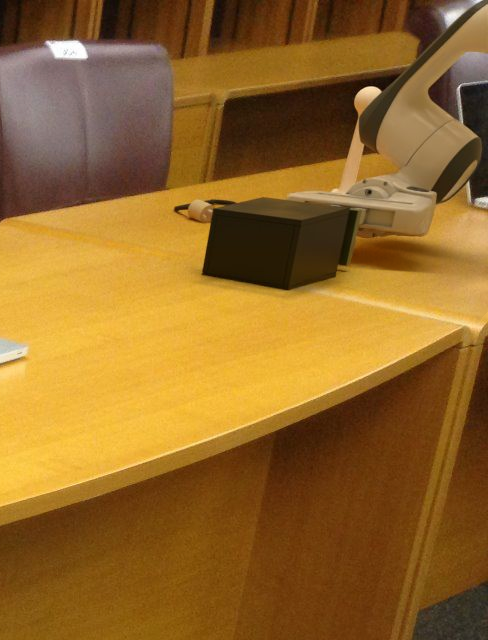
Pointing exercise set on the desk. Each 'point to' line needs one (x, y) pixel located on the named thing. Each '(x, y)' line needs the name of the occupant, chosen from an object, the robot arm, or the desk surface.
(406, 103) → the robot arm
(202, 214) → the cable
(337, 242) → the cabinet
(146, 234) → the desk surface
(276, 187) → the desk surface
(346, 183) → the joystick
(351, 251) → the drawer
